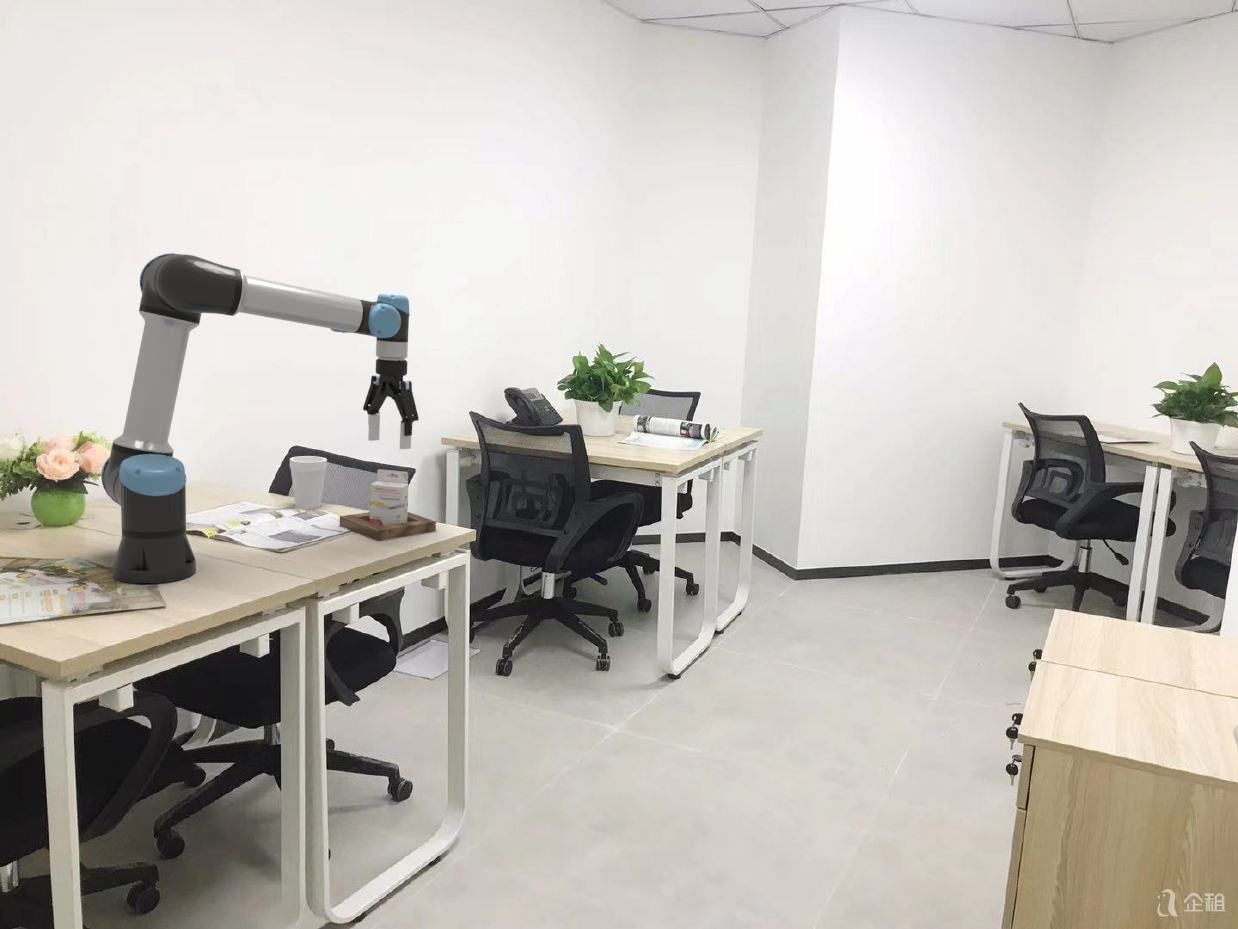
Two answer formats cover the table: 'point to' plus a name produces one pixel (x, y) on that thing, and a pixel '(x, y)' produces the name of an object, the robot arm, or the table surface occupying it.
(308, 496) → the foam cup
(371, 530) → the square wooden frame
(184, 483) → the robot arm
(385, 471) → the ink cartridge box
